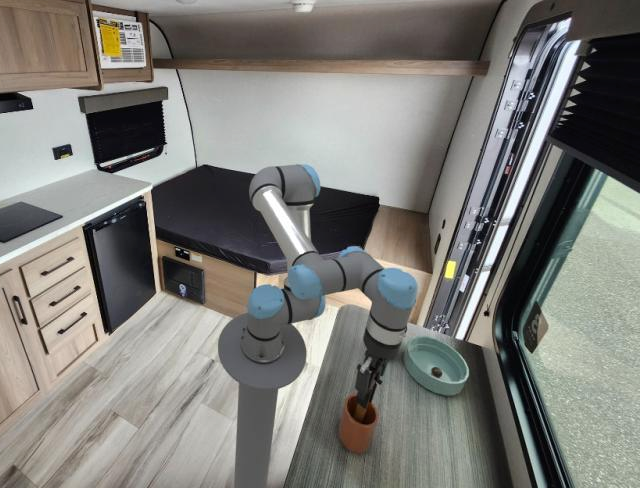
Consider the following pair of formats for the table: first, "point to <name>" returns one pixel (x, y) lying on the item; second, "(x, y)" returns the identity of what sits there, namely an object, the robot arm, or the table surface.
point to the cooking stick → (361, 411)
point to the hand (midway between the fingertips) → (363, 401)
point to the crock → (357, 426)
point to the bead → (436, 372)
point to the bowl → (436, 365)
